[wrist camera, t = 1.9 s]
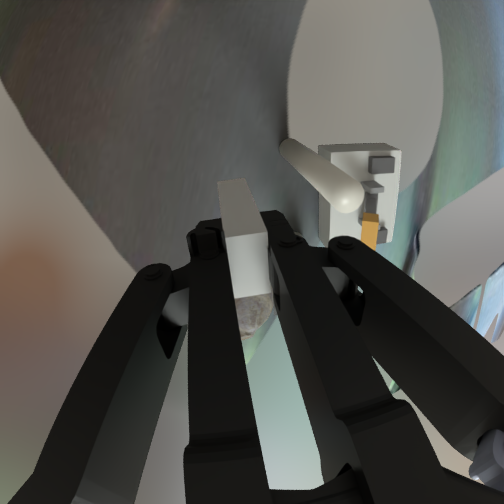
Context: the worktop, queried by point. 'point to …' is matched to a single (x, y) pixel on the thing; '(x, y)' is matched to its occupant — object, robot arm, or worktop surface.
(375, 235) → the breaker lever
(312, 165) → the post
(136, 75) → the worktop surface
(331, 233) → the panel
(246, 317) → the seashell
